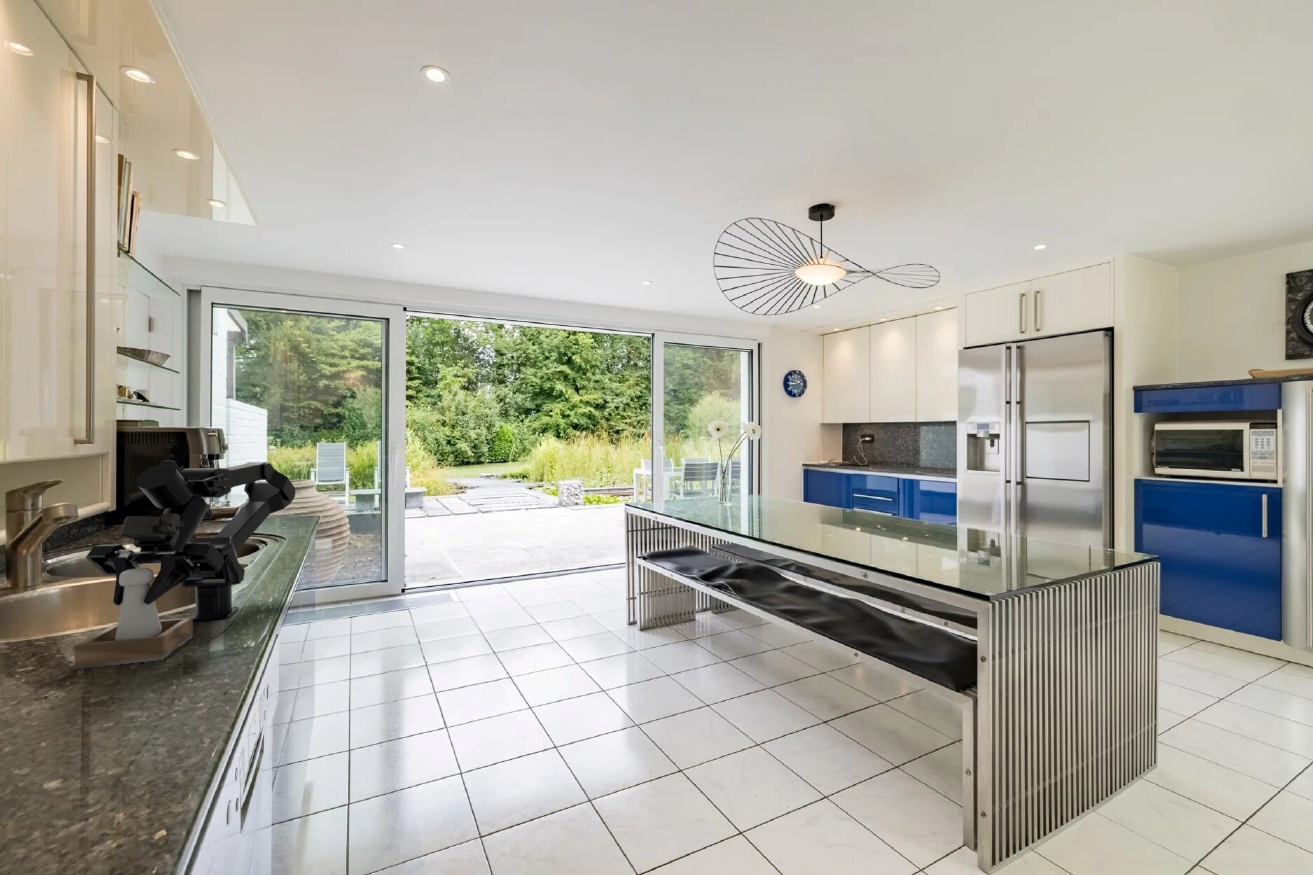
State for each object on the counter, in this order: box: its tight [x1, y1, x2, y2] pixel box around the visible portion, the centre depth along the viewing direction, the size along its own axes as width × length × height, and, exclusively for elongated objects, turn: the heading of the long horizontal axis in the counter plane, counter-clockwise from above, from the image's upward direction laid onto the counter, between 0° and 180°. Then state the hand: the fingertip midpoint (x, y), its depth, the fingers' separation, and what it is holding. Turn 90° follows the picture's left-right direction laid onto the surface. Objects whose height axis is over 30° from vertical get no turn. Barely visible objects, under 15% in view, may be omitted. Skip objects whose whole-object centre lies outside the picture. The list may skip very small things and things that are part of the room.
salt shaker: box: [115, 567, 162, 640], centre depth 97 cm, size 6×6×13 cm
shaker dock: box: [74, 616, 194, 670], centre depth 96 cm, size 11×11×4 cm
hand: (131, 603), depth 95 cm, fingers open, 4 cm apart
